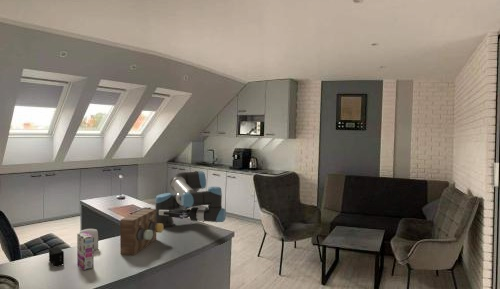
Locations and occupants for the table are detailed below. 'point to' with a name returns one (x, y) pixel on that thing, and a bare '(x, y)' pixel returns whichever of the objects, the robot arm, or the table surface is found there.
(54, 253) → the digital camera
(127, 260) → the table surface
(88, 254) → the candy bar box
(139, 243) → the console
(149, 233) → the sage button
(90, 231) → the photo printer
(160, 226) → the ochre button
